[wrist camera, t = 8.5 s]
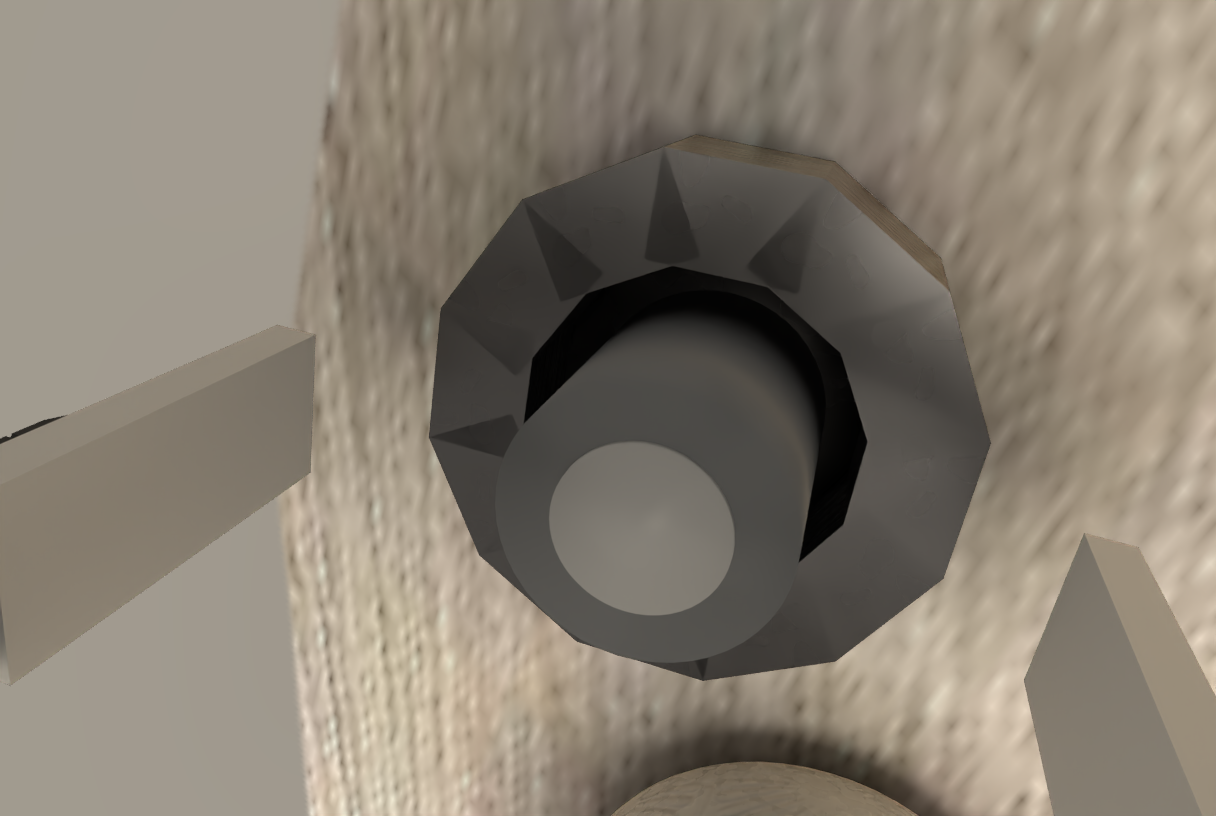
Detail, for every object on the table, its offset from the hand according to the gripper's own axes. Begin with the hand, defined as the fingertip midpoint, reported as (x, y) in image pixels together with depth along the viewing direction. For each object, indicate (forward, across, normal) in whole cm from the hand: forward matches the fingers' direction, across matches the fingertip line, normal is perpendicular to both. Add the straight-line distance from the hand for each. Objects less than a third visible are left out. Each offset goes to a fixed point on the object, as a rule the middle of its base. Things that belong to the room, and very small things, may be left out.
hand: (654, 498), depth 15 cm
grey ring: (+6, 0, 0) cm, 6 cm away
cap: (+5, 0, 0) cm, 5 cm away
